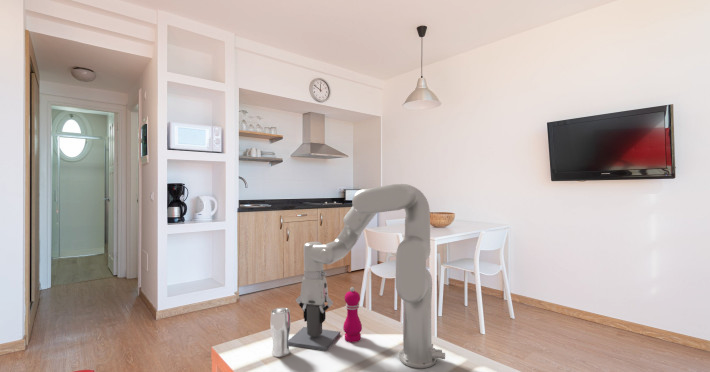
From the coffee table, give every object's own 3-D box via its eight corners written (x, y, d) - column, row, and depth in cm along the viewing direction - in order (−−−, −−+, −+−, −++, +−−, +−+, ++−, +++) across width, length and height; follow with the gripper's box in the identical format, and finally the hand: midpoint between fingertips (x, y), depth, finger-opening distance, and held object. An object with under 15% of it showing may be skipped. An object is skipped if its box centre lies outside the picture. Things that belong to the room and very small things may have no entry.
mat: (340, 334, 135) (340, 331, 135) (326, 351, 122) (326, 347, 122) (303, 329, 140) (303, 326, 140) (286, 344, 127) (286, 341, 127)
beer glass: (294, 351, 122) (294, 309, 122) (280, 359, 116) (280, 316, 116) (280, 346, 126) (280, 306, 126) (266, 354, 120) (266, 312, 120)
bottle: (325, 332, 131) (324, 293, 131) (313, 337, 127) (313, 297, 127) (315, 328, 135) (314, 290, 135) (303, 333, 131) (303, 294, 131)
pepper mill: (360, 343, 127) (359, 290, 127) (341, 342, 129) (340, 289, 129) (363, 335, 134) (363, 285, 134) (345, 334, 136) (345, 284, 136)
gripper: (338, 273, 132) (338, 319, 132) (298, 270, 137) (299, 315, 137) (330, 278, 125) (331, 327, 125) (289, 275, 130) (289, 322, 130)
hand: (314, 320), depth 131 cm, fingers closed on bottle, 5 cm apart
